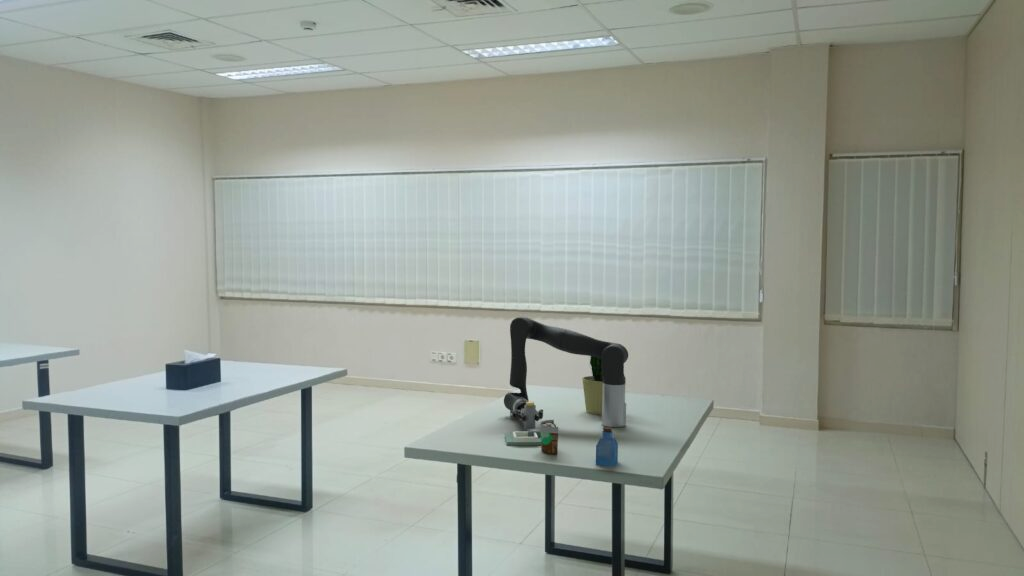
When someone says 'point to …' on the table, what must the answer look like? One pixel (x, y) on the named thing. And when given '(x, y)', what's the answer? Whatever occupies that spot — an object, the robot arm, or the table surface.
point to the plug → (529, 416)
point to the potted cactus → (594, 387)
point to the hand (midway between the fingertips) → (531, 418)
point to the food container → (549, 437)
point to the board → (524, 438)
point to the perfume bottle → (607, 448)
